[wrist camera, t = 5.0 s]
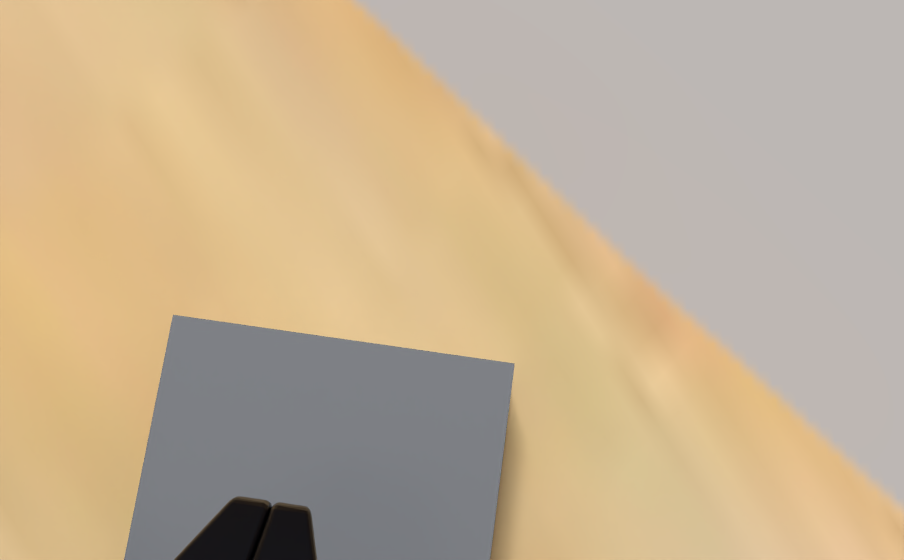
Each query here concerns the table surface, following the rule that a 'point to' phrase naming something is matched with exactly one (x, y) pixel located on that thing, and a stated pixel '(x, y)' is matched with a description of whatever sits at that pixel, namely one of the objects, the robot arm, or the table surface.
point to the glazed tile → (324, 442)
